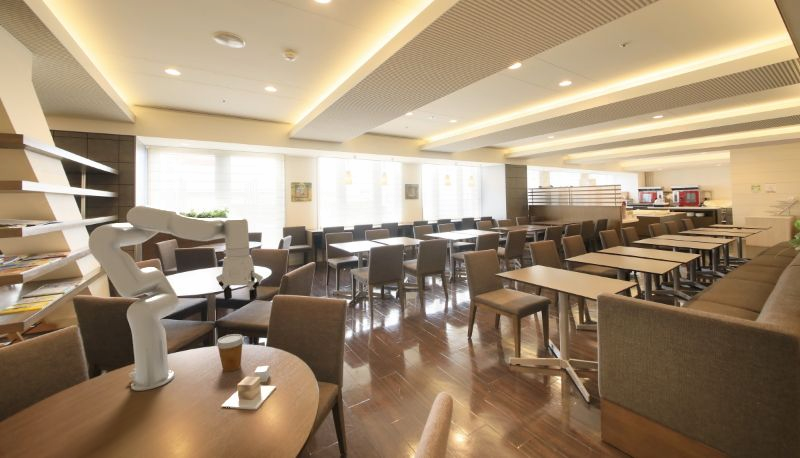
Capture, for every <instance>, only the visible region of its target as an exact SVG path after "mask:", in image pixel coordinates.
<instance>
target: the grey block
mask: <svg viewBox="0 0 800 458" xmlns="http://www.w3.org/2000/svg"><path fill="white" fill-rule="evenodd" d="M254 377H260V383H265V382H267V381H268V380H269V378H270V366H269V365H265V366H257V367H256V369H255V371H254ZM267 383H268V382H267Z"/></svg>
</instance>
